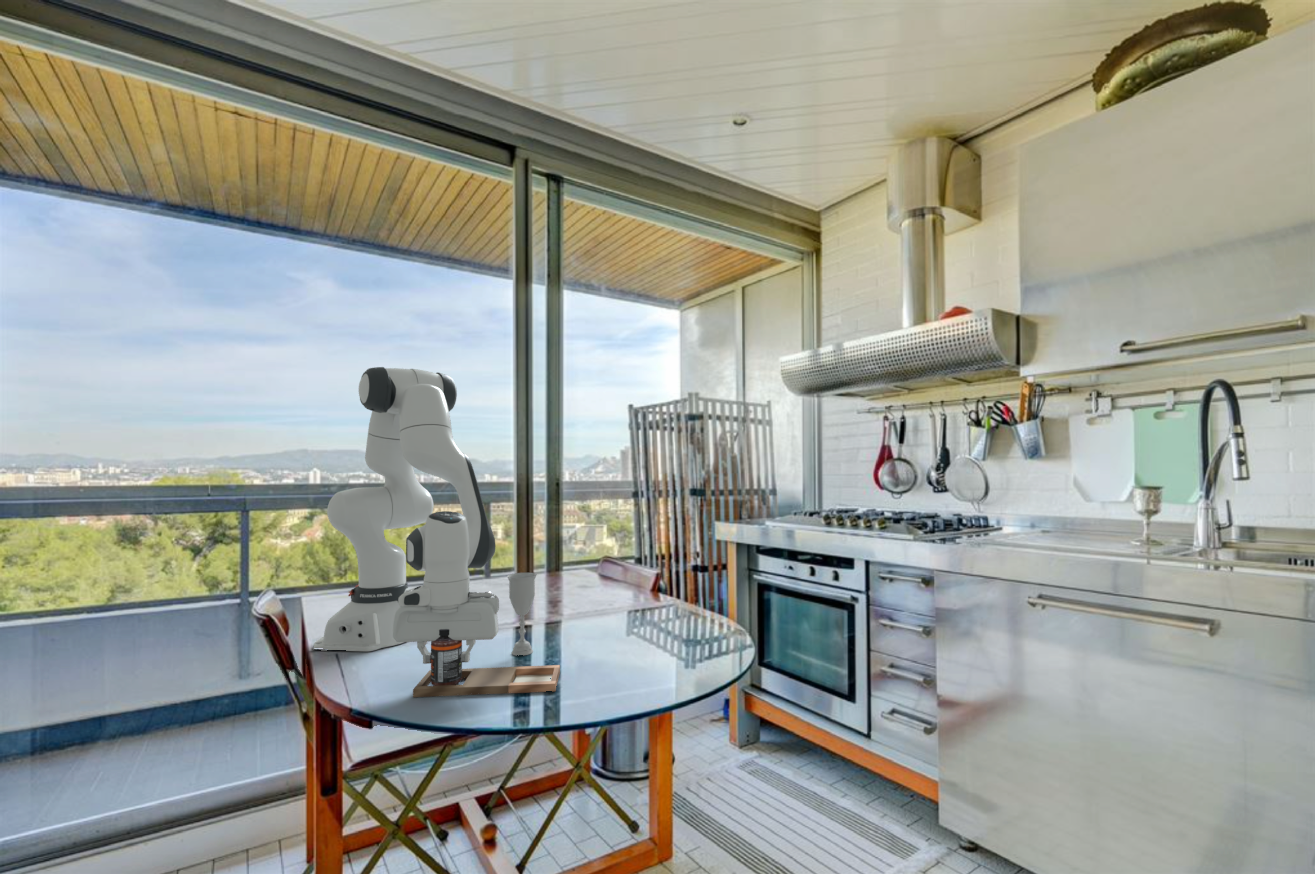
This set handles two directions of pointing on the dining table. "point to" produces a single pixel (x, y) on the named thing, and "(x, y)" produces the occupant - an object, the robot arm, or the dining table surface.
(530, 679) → the wooden compartment tray
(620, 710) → the dining table surface
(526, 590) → the chalice
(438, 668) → the supplement bottle
